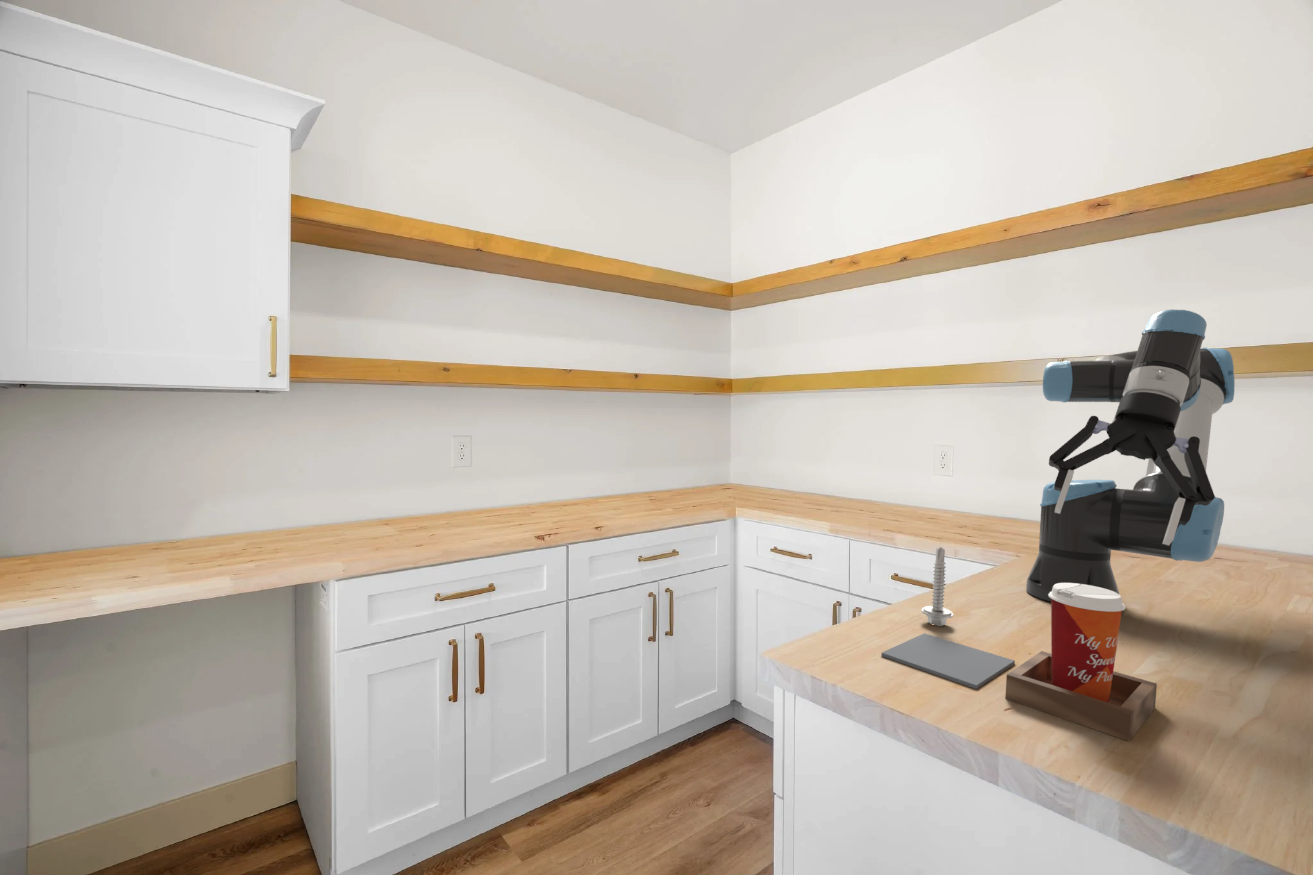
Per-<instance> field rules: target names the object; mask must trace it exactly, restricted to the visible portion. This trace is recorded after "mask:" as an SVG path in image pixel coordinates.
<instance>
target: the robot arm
mask: <svg viewBox="0 0 1313 875" xmlns="http://www.w3.org/2000/svg"><path fill="white" fill-rule="evenodd" d="M1206 331H1207V321H1206V319H1205V318H1204V317H1203V316H1202V315H1200V314H1199V313H1197V312H1194V311H1191V310H1186V309H1173V308H1172V309H1165V310H1162V311H1159V312H1156V313H1154V314H1153V315H1152V316H1150V318H1148V320H1147V323H1146V324H1145V327H1144V329H1143V331H1142V332H1141V335H1142V336H1141V339H1140V342H1139V346H1138V348H1137V350H1133V351H1127V352H1121V353H1115V354H1110V355H1105V356H1101V357H1098V358H1096V359H1094V360H1063V361H1052V362H1049V363H1048V364H1046V366H1045V368H1044V370H1043V377H1042V393H1043V396H1044V398H1045V400H1047V401H1049V402H1060V403H1081V402H1082V403H1118V406H1117V409H1116V412H1115V414H1114V418H1113V420H1112V421H1111V422H1107V421H1103V420H1100V419H1099V417H1098V416H1097V415H1091V416H1089V418H1088V420H1087V422H1086V424H1085V426H1084V427H1083V428H1082V429H1080V430H1079V431H1078V432H1077V433H1076V434H1075V435H1073V436H1072V437H1071V438H1070V439H1069V440H1067V441H1066V442H1065V443H1064V444H1062V445H1061V446H1060V447H1059V448H1058V449H1057V450H1055V452H1053V453H1052V454H1051V455H1050V456H1049V459H1048V465H1049V467H1051V468H1054V469H1057V471H1058V473H1057V476H1056V479H1055V481H1052V482H1049V483H1046V485H1045V486H1044V487H1043V489H1042V496H1041V497H1042V498H1041V502H1040V505H1039V506H1040V508H1041V509H1040V523H1039V538H1038V539H1039V540H1038V541H1039V542H1038V554H1037V556H1036V559H1035V560H1034V563H1033V565H1032V568H1031V570H1030V572H1029V574H1028V576H1027V579H1026V586H1025V588H1026V589H1025V591H1026V592H1027V593H1028V594H1029V595H1031V596H1033V597H1036V598H1038V599H1040V600H1044V601H1048V602H1050V603H1051V598H1050V597H1049V596H1048V594H1049V593H1050V592H1051V591H1052V588H1053V586H1054V585H1055V584H1057V583H1077V584H1085V585H1091V586H1096V587H1100V588H1104V589H1108V590H1111V591H1114V592H1116V593H1118V594H1119V595H1120V596H1121V594H1120V590H1119V588H1118V584H1117V581H1116V579H1115V575H1114V572H1113V569H1112V564H1111V557H1112V554H1111V553H1112V551H1117V552H1118V551H1119V552H1123V553H1130V554H1131V553H1132V554H1137V555H1138V554H1139V555H1144V556H1151V557H1157V558H1165V559H1171V560H1174V561H1177V562H1178V561H1181V562H1182V561H1188V562H1196V563H1197V562H1198V563H1201V562H1202V563H1203V562H1205V561H1209V559H1210V560H1211V558H1212V557H1213V556H1214V554H1215V551H1216V549H1217V545H1218V542H1219V539H1220V535H1221V529H1222V525H1223V521H1224V516H1225V501H1224V500H1223V499H1222V497H1221V498H1220V497H1216V495H1215V494H1214V490H1213V487H1212V484H1211V482H1210V479H1209V476H1208V474H1207V466H1208V465H1207V463H1208V455H1209V446H1210V439H1211V438H1210V437H1211V429H1212V418H1213V415H1214V414H1215V413H1217V412H1218V411H1220V409H1221V408H1222V407H1223V405H1226V404H1230V403H1232V402H1233V401H1234V397H1235V373H1234V371H1235V370H1234V368H1235V366H1234V361H1233V356H1232V353H1231V352H1230V351H1229V350H1228V349H1225V348H1217V347H1216V348H1210V347H1202V344H1203V341H1204V340H1205V338H1206V335H1205V334H1206ZM1102 431H1105V432H1106V433H1107V435H1108V438H1106V439H1105V440H1103V441H1102V442H1100V443H1098V444H1096V445H1094V446H1092V447H1090V448H1088V449H1086V450H1084V451H1082V452H1080V453H1079V454H1077V455H1074V456H1072V457H1070V458H1068V457H1069V456H1070V455H1071V454H1073V452H1075V451H1076V450H1077V449H1078V448H1080V447H1081V446H1082V445H1083V444H1085V443H1086V442H1087V441H1088V440H1089V439H1090V438H1091V437H1092V435H1093V434H1094V435H1098V434H1100V433H1101V432H1102ZM1116 451H1117V452H1118V453H1119V454H1120V455H1122V456H1126V457H1129V456H1130V457H1134V458H1137V459H1138V460H1144V461H1146V460H1148V462H1147V467H1146V471H1145V476H1143V477H1140V478H1139V479H1138V480H1137V481H1136V482H1135V484H1134V485H1133V488H1132V489H1128V488H1117V484H1116V481H1114V480H1111V479H1079V480H1078V479H1077V480H1076V479H1075V480H1073V478H1074V473H1075V470H1077V469H1079V468H1080V467H1083V466H1085V465H1087V464H1089V463H1091V462H1093V461H1095V460H1097V459H1099V458H1101V457H1104V456H1105V455H1106V456H1107V455H1109V454H1111V453H1114V452H1116ZM1067 458H1068V459H1067ZM1065 459H1066V460H1065Z"/></svg>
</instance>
